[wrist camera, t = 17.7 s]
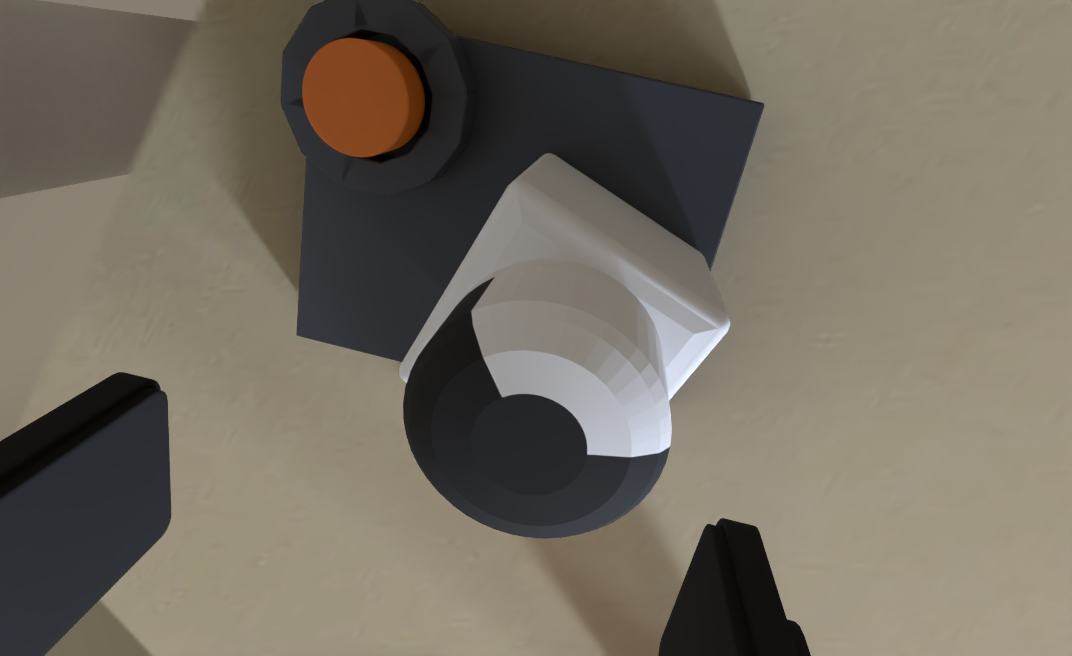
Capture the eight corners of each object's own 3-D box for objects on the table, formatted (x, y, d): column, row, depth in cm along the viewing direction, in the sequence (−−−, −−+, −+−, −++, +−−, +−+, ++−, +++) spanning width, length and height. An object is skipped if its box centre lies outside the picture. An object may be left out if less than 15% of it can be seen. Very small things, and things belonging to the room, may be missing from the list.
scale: (310, 319, 29) (270, 349, 26) (332, -14, 24) (285, -29, 20) (658, 405, 28) (661, 447, 25) (762, 80, 23) (784, 80, 19)
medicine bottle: (599, 394, 26) (575, 626, 15) (453, 301, 25) (316, 472, 14) (708, 255, 23) (777, 415, 12) (547, 147, 23) (467, 213, 12)
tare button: (322, 139, 22) (298, 144, 21) (329, 30, 21) (304, 26, 19) (419, 162, 22) (402, 168, 21) (432, 53, 21) (415, 51, 19)
